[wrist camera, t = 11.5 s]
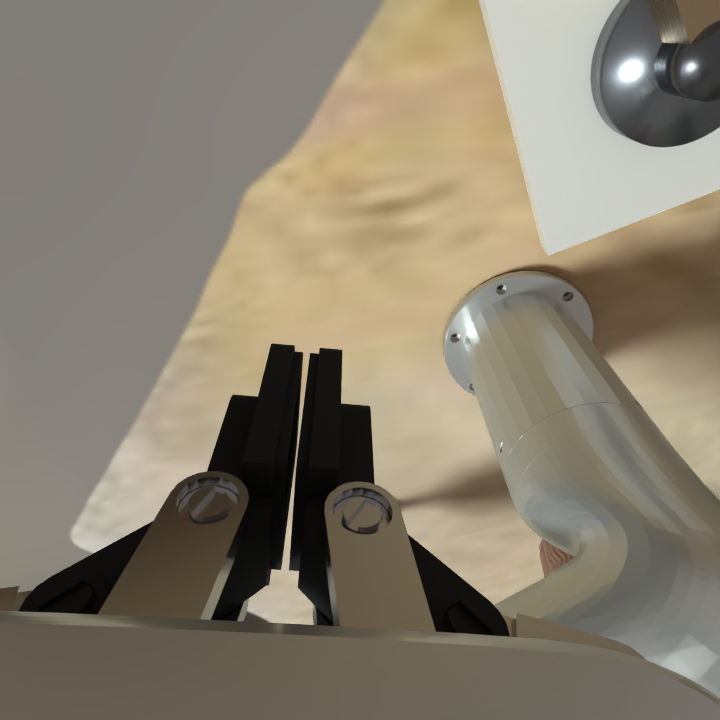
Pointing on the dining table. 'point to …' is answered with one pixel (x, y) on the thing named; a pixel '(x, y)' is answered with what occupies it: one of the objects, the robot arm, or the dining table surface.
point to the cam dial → (659, 70)
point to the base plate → (581, 127)
